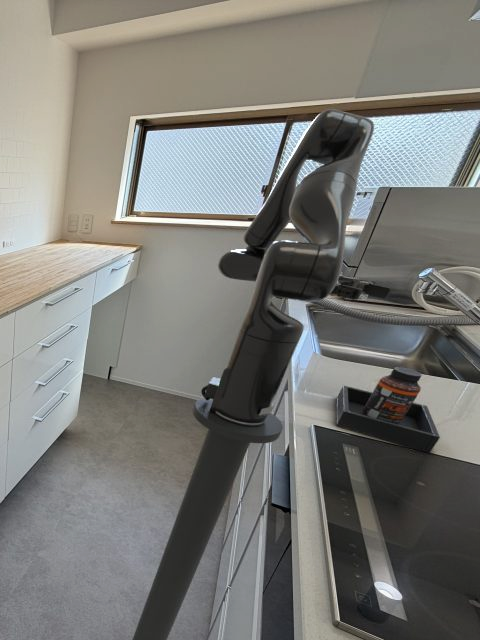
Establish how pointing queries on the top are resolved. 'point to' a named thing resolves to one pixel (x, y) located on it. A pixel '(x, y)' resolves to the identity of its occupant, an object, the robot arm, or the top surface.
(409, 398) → the supplement bottle
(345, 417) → the bin
